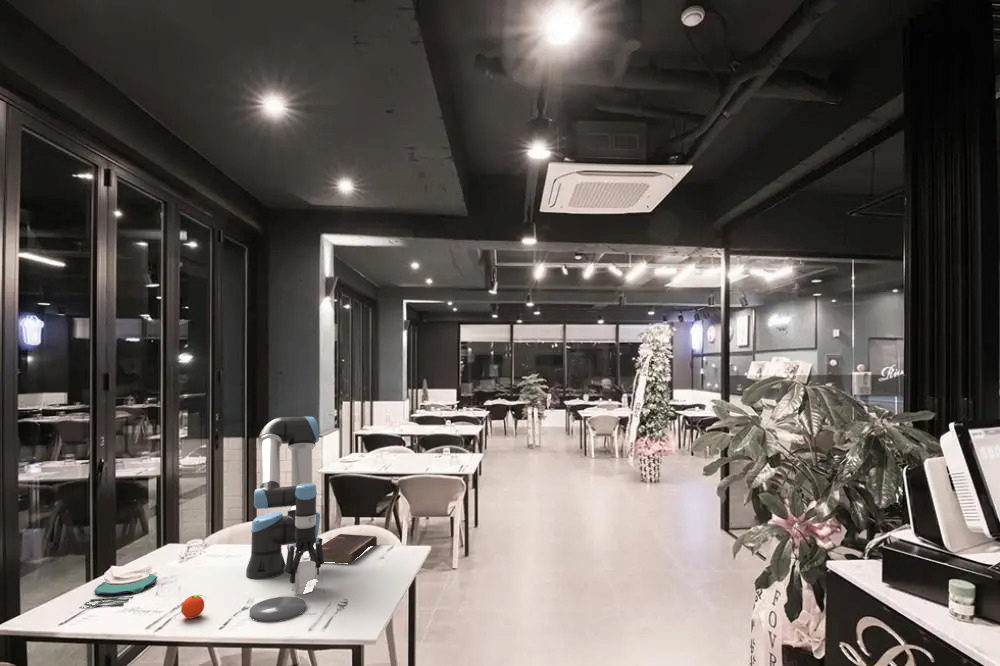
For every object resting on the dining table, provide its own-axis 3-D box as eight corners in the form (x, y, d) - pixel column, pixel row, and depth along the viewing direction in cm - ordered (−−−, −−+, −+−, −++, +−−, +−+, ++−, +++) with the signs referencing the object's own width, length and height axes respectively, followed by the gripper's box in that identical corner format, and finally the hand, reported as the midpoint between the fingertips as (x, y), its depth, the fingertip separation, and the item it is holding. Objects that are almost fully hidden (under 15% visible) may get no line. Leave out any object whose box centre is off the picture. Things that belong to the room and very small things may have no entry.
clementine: (201, 610, 201) (202, 589, 201) (211, 615, 196) (211, 593, 197) (177, 618, 194) (177, 596, 195) (186, 623, 190) (186, 601, 191)
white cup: (308, 596, 213) (309, 568, 214) (289, 594, 215) (289, 566, 215) (319, 588, 221) (319, 561, 221) (300, 586, 222) (300, 560, 223)
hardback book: (350, 565, 248) (350, 553, 248) (310, 563, 251) (310, 551, 252) (376, 546, 277) (376, 535, 277) (340, 544, 280) (340, 533, 280)
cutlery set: (165, 577, 235) (165, 571, 235) (127, 608, 205) (127, 601, 205) (113, 580, 232) (113, 574, 232) (66, 612, 202) (66, 605, 203)
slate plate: (239, 612, 198) (239, 608, 198) (287, 596, 212) (287, 592, 212) (267, 626, 187) (267, 622, 187) (315, 609, 201) (316, 604, 201)
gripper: (286, 533, 209) (285, 598, 207) (334, 522, 225) (333, 582, 223) (275, 530, 214) (273, 594, 212) (323, 519, 230) (322, 578, 228)
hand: (304, 588), depth 218 cm, fingers closed on white cup, 8 cm apart
